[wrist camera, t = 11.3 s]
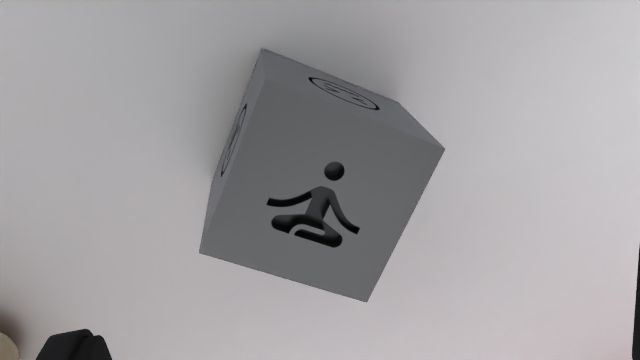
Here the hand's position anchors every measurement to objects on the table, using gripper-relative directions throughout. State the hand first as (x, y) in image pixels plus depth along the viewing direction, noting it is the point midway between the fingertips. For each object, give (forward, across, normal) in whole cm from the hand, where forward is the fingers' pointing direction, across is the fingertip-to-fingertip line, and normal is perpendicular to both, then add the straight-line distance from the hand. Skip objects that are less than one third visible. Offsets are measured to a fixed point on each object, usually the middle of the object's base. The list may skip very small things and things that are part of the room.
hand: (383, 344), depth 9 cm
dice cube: (+11, +1, 0) cm, 11 cm away
